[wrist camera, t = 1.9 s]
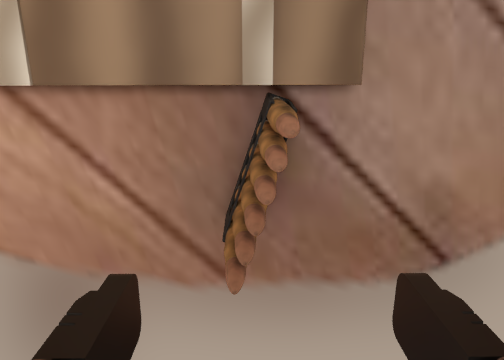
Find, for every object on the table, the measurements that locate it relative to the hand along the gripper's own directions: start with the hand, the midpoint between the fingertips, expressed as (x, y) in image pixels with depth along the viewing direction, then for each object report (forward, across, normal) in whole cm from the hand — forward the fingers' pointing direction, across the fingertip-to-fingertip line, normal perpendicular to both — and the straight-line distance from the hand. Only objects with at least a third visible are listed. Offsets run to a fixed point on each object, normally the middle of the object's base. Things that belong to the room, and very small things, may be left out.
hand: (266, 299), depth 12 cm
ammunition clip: (+19, 0, 0) cm, 19 cm away
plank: (+19, +6, -9) cm, 22 cm away
